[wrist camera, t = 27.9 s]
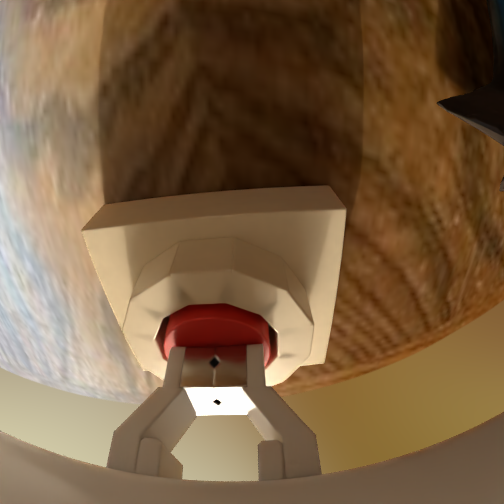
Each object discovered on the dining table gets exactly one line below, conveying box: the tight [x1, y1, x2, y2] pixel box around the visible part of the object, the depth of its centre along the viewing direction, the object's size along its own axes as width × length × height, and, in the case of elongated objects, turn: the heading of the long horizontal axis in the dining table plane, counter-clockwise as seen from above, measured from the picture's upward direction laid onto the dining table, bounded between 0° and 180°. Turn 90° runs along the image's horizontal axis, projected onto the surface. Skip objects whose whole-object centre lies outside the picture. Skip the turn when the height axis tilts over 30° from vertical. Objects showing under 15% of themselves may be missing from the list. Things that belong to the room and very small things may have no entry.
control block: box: [81, 185, 346, 386], centre depth 11 cm, size 9×8×4 cm
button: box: [163, 303, 271, 366], centre depth 10 cm, size 4×4×2 cm
